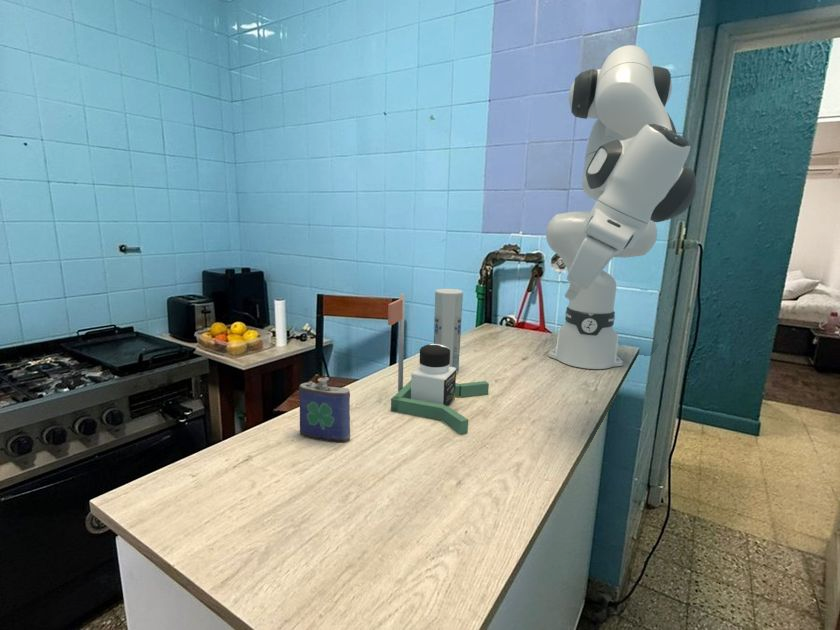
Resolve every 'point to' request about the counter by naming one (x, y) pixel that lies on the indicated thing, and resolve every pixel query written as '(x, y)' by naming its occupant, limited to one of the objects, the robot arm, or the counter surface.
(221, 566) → the counter surface
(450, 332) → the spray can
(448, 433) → the counter surface
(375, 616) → the counter surface
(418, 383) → the medicine bottle
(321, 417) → the flask
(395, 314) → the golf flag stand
